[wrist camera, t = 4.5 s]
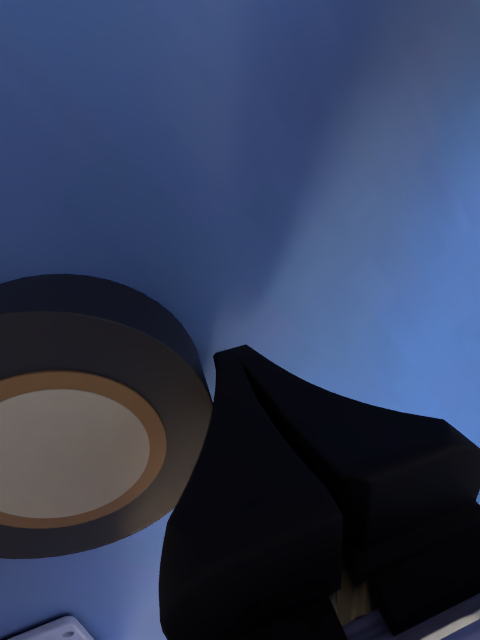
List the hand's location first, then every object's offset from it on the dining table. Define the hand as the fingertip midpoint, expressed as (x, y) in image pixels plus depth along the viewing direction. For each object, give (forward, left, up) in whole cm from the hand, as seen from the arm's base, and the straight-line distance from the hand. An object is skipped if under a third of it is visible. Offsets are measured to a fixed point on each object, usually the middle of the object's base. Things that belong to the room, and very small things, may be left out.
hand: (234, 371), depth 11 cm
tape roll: (0, +6, -1) cm, 6 cm away
